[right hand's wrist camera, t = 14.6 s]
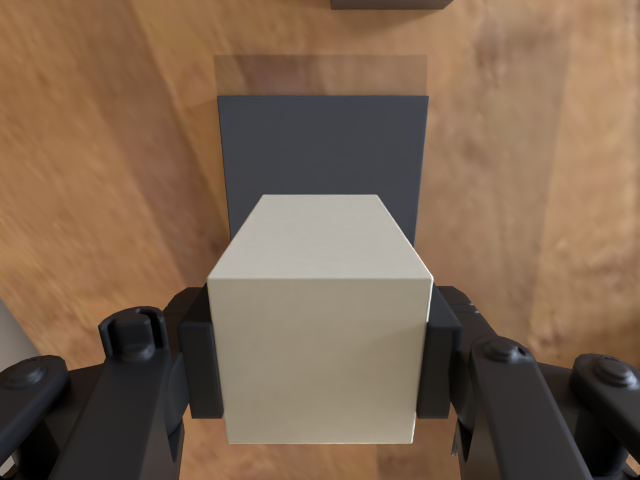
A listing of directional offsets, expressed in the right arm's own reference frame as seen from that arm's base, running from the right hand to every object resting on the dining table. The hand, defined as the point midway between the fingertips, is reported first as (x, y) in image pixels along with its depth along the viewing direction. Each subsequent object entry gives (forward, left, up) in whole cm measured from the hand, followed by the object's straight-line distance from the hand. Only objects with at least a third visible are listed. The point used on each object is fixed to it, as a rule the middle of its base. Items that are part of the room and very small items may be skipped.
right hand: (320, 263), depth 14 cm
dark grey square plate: (0, 0, -12) cm, 12 cm away
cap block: (0, 0, -2) cm, 2 cm away
